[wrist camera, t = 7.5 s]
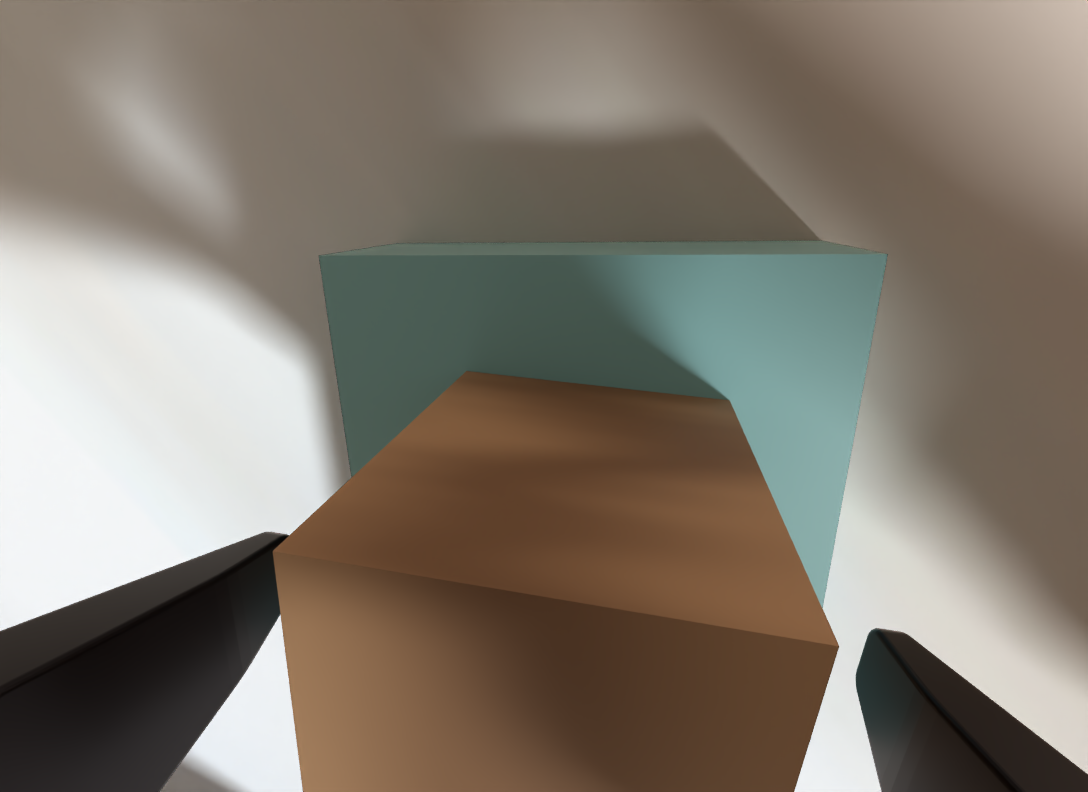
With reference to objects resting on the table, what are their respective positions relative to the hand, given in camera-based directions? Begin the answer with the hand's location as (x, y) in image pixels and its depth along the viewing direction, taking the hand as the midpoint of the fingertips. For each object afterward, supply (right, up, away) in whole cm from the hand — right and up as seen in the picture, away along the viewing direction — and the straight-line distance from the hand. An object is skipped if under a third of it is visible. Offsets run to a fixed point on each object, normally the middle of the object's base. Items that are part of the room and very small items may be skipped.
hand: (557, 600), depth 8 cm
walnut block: (+1, +1, +3) cm, 3 cm away
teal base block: (+1, +2, +7) cm, 7 cm away
